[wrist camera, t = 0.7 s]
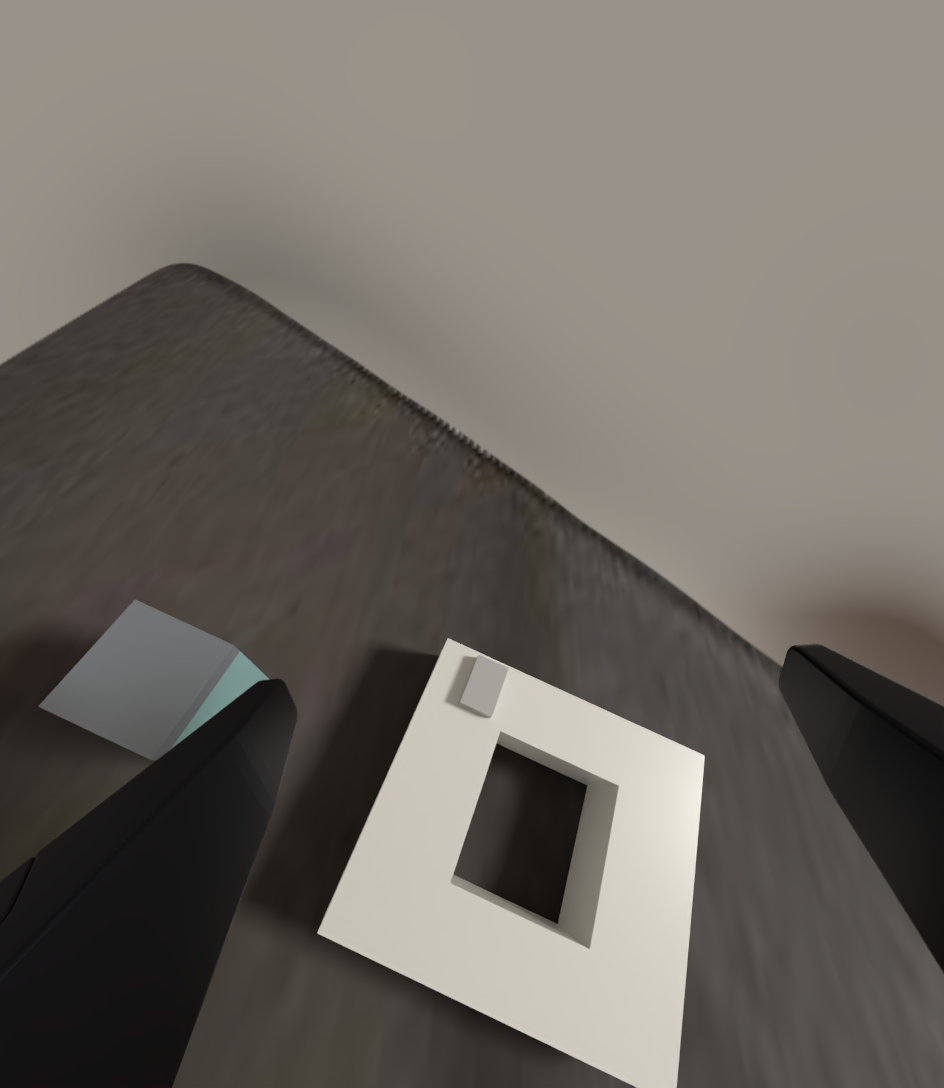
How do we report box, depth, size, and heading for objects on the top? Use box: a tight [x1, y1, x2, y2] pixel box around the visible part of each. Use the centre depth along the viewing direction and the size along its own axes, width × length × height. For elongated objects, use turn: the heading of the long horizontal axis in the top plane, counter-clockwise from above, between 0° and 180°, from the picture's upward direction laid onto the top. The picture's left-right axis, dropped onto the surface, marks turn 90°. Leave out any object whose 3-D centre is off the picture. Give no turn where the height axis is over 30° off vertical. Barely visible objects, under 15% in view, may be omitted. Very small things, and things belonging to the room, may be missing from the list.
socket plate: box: [317, 639, 705, 1088], centre depth 20 cm, size 12×14×4 cm
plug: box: [38, 600, 269, 761], centre depth 18 cm, size 4×4×8 cm
